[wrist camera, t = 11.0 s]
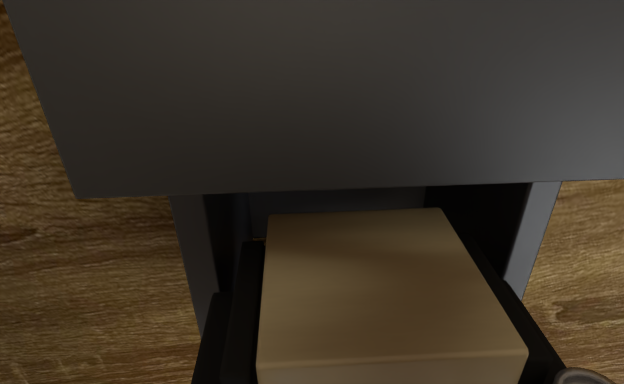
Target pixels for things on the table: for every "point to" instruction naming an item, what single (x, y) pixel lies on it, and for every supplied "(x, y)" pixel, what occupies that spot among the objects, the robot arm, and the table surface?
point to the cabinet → (325, 92)
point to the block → (379, 303)
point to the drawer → (451, 199)
